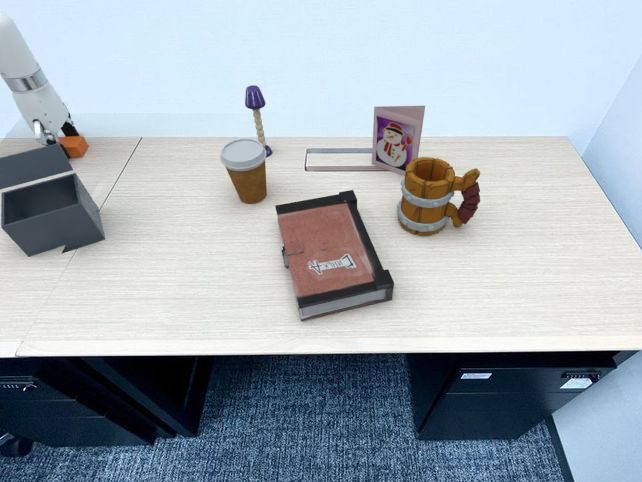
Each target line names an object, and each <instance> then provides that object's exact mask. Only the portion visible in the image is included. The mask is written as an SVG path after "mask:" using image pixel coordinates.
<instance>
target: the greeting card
mask: <svg viewBox="0 0 642 482" xmlns="http://www.w3.org/2000/svg"><path fill="white" fill-rule="evenodd" d="M425 110H426V105H392V106H391V105H388V106H386V105H385V106H382V105H381V106H374V107H373V125H372V126H373V127H372V149H371V150H372V151H371V165H373V166H376V167H379V168H382V169H384V170H387V171H390V172H392V173H395V174H398V175H401V176H402V177H405V170H406V166H407V164H408V163H409V162H410V161H413V160H414V159H416V158H419V153H420V146H421V137H422V131H423V125H424V119H425V112H426V111H425Z"/></svg>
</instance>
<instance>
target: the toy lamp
mask: <svg viewBox="0 0 642 482" xmlns="http://www.w3.org/2000/svg"><path fill="white" fill-rule="evenodd" d="M266 104H267V103H266V100H265V97H264V96H263V93H262V91H261V88H260V86H258V85H253V84H252V85H248V86H247V87H245V97H244V106H245V107H246V108H247V109H250V110H251V111H252V116H253V118H254V119H253V120H254V121H253V122H254V124H255V125H254V126H255V130H256V136H257V141H259V142H260V143H261V144H262V145H263V147H264V148H265V150H266V154H267V155H266V158H267V157H270V156H271V155H272V154H273V150H272V148H271V146H269V145H267V142H266V137H265V130H264V125H263V119H262V113H261V109H263V108H264V107H265V106H266Z"/></svg>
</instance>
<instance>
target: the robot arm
mask: <svg viewBox="0 0 642 482" xmlns="http://www.w3.org/2000/svg"><path fill="white" fill-rule="evenodd" d="M0 76H1V78H2V79H3V81H4V82H5V84H6V86H7V87H8V88H9V90H10V92H12V93H11V96H12V98H13V100H14V103H15V105H16V108H17V109H18V111H19V112H20V114H21V116H22V118H23V119H24V121H25V123H26V124H27V126H28V128H29V129H30V131H31V132H32V134H34V140H35V141H36V143H39V144H41V145H43V146H44V147H46V146H50V145H54V144H58V143H59V145H60V146H61V148H62V150H63V152H64V154H65V155H66V157H67V159H68V160H70V159H72V158H71V157H70V155H69V153H68V152H67V150H66V149H65V147H64V146H63V144H60V142H59V139H58V137H59V135H58V133H59V132H60V130H61V132H62V133H63V135H64V137H69V136H81V135H80V134H79V132H78V130H77V129H76V127H75V125H74V121H73V120H72V117H71V116H72V115H71V113H70V110H69V108H68V109H67V107H66V105H65V104H64V103H65V102H64V101H63V100H62V99H61V97H60V95H59V93H58V92H57V91H56V90H55V88H54V86H53V85H52V84H51V83H50V80H49V79H48V77H47V76H46V74H45V72H44V71H43V68H42V67H41V66H40V64H39V63H38V60H37V59H36V57H35V55H34V54H33V51H32V50H31V49H30V46H29V45H28V43H27V41H26V40H25V38H24V36H23V34H22V33H21V31H20V30H19V28H18V26H17V24H16V23H15V22H14V19H12V18H11V17H10V16H9V15H7V14H6V13H4V12H0ZM68 110H69V111H68ZM47 131H48V132H47ZM49 136H52V139H51V138H49ZM53 140H54V141H53Z"/></svg>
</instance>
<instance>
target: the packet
mask: <svg viewBox="0 0 642 482" xmlns="http://www.w3.org/2000/svg"><path fill="white" fill-rule="evenodd" d="M58 139H59V142H60V144H63V146H64V147H65V149H66V150H67V152H68V153H69V155H70V157H71V158H70V159H73V158H74V159H75V158H83V157H84V156H85V153H86V152H87V151H88V148H89V147H90V146H89V144H88V142H87V140H86V139H85V137H84V135H80V136H69V137H65V136H58ZM52 140H53V139H52ZM53 141H54V140H53Z"/></svg>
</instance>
